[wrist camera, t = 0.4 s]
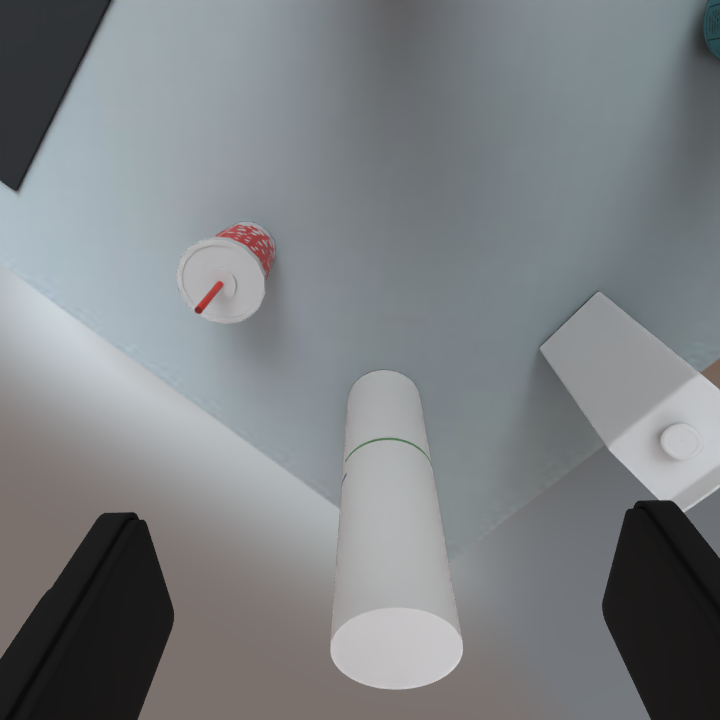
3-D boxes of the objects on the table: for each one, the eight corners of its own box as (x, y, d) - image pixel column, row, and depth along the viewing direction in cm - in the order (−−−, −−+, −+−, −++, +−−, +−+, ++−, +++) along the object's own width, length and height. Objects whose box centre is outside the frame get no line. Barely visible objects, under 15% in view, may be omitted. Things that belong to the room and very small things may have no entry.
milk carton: (650, 334, 45) (817, 473, 28) (589, 387, 48) (709, 543, 31) (597, 289, 43) (744, 409, 26) (537, 347, 46) (635, 490, 29)
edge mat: (32, -191, 30) (30, -194, 30) (150, -81, 32) (148, -82, 32) (-84, 120, 38) (-87, 120, 38) (17, 190, 40) (15, 191, 40)
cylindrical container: (340, 423, 50) (319, 679, 28) (356, 363, 47) (345, 597, 25) (409, 437, 51) (440, 697, 29) (429, 378, 48) (481, 619, 25)
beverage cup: (223, 287, 44) (165, 361, 31) (203, 217, 41) (131, 267, 28) (291, 278, 43) (260, 350, 31) (276, 207, 40) (234, 253, 28)
